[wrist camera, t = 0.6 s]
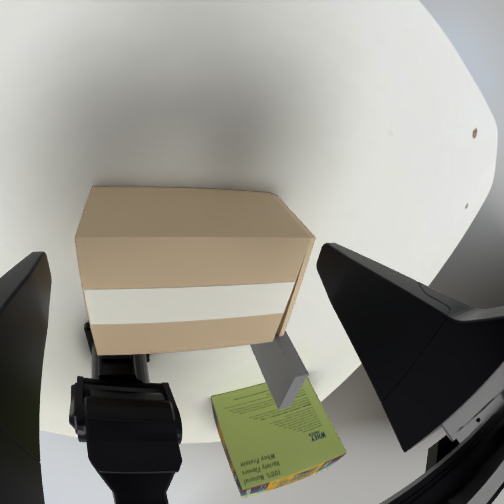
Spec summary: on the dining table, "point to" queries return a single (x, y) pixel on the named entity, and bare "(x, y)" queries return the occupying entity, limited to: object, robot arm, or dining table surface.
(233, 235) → the carton
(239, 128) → the dining table surface
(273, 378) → the grey and tan blocks
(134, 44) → the dining table surface
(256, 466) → the protein box
